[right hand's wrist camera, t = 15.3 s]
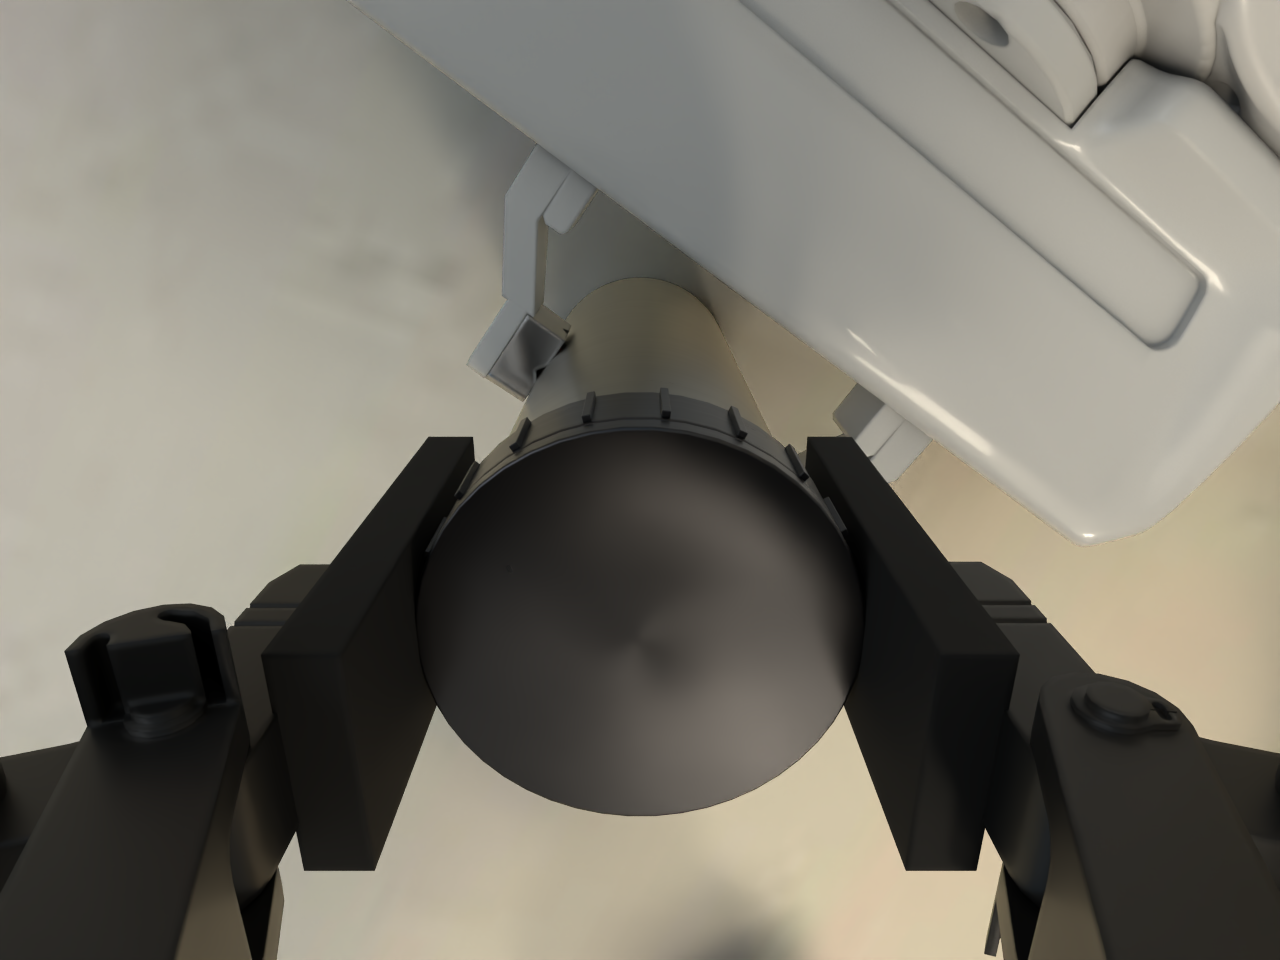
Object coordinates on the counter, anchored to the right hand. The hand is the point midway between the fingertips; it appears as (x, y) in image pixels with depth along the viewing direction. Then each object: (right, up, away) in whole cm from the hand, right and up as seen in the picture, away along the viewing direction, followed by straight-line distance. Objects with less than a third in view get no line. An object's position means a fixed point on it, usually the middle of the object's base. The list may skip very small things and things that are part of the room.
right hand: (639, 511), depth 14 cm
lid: (0, -1, -3) cm, 4 cm away
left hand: (0, +1, +5) cm, 5 cm away
